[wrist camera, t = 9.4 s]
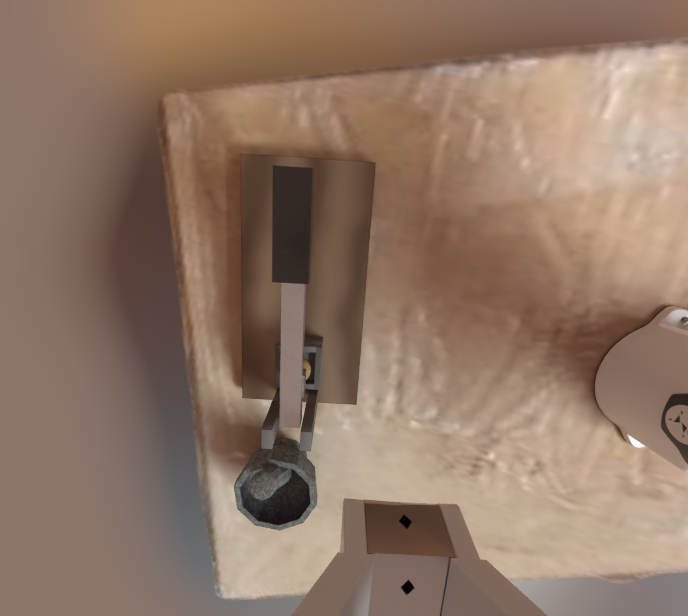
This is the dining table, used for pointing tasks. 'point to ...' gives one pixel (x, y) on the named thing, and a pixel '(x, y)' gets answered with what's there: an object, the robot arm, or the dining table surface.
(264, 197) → the press base
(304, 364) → the nut
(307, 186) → the lever
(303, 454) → the mortar and pestle
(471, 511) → the dining table surface
